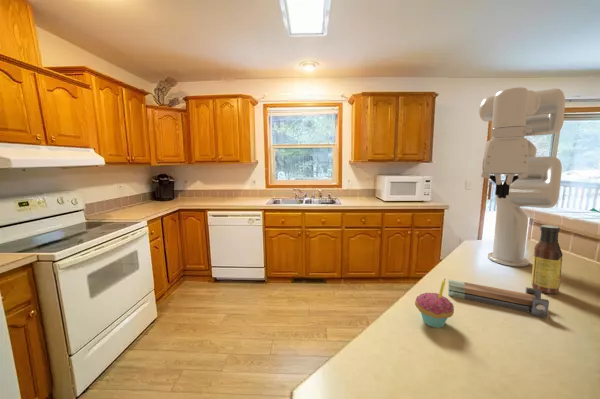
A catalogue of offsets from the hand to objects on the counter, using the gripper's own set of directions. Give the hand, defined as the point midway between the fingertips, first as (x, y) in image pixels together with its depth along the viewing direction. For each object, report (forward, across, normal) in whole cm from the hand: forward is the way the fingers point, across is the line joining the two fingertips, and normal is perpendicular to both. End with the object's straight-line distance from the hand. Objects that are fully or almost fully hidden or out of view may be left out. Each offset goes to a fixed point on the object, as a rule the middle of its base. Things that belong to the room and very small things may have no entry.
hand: (501, 197), depth 76 cm
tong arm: (+27, +2, +10) cm, 29 cm away
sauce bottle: (+29, -13, -5) cm, 32 cm away
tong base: (+28, +1, +10) cm, 30 cm away
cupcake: (+28, +16, +28) cm, 43 cm away
